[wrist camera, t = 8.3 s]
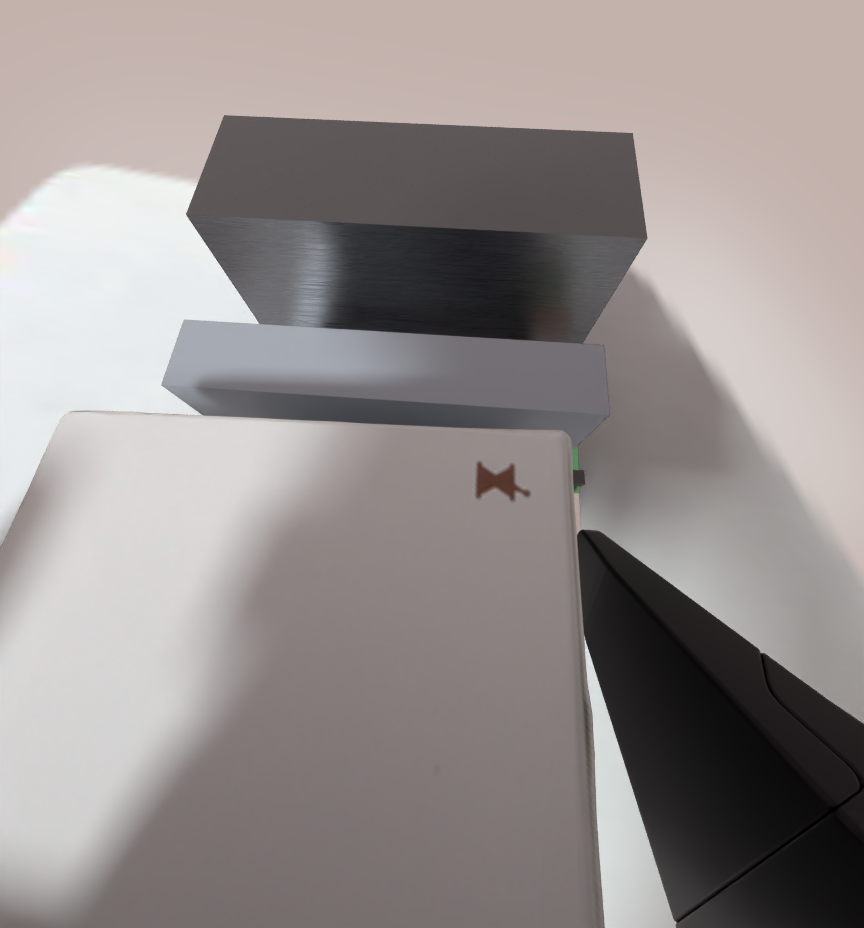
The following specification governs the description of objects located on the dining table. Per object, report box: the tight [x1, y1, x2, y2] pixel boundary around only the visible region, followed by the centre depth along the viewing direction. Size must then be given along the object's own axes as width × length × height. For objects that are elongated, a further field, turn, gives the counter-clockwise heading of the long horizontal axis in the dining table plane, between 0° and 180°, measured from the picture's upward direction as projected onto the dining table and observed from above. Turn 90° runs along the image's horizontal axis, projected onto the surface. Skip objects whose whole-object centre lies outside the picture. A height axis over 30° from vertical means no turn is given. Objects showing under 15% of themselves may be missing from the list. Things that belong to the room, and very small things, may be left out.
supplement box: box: [0, 411, 605, 928], centre depth 10 cm, size 7×7×13 cm
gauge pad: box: [161, 320, 610, 486], centre depth 12 cm, size 2×10×10 cm, turn 85°
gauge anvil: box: [186, 115, 647, 534], centre depth 14 cm, size 12×12×10 cm
